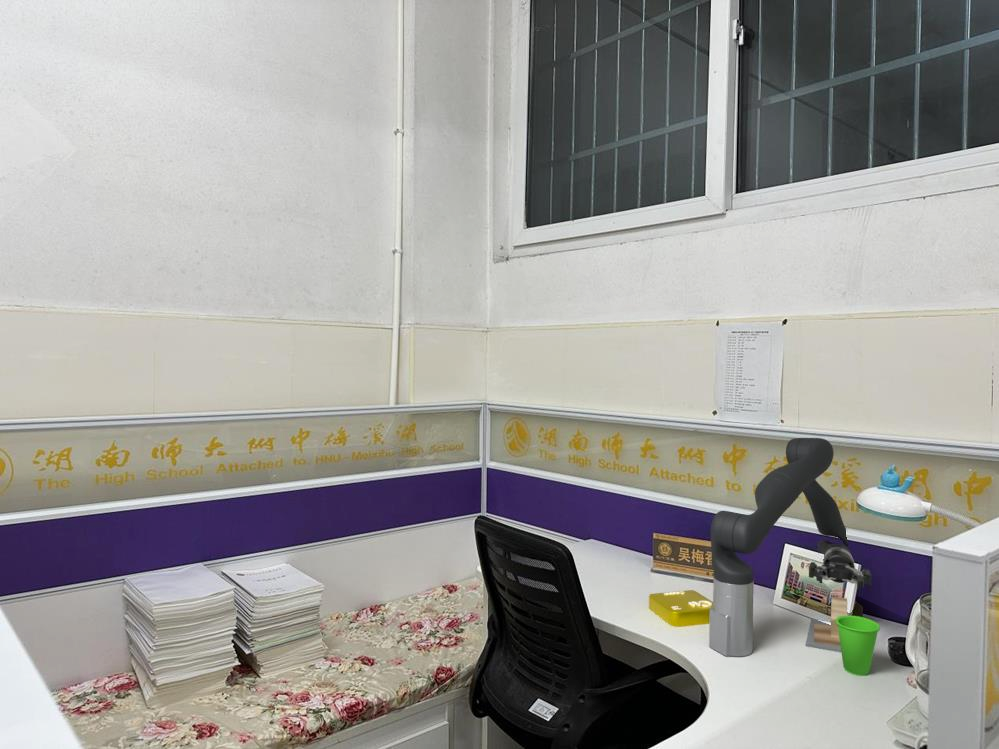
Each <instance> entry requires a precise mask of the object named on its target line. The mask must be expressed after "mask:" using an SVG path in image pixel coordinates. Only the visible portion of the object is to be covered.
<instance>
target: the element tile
mask: <svg viewBox="0 0 999 749" xmlns="http://www.w3.org/2000/svg"><path fill="white" fill-rule="evenodd" d="M711 608H713V600H711V599H709V598H707V597H706V596H705V595H703V594H701V592H700V593H699V592H698V591H696V590H694V589H689V590H688V589H687V590H678V591H668V592H666V591H665V592H655V593H650V594H649V595H648V610H649V609H650V610H651V611H650V610H649V611H650V612H652V611H653V612H654V613H655V614H654V613H653V612H652V613H653V614H654V615H656V616H657V615H658V616H659V617H660V618H659V617H658V616H657V617H658V618H659V619H661V618H662V619H661V620H662V621H663V620H664V621H665V622H664V621H663V622H664V623H666V624H667V623H668V624H669V625H668V624H667V625H668V626H670V625H671V626H670V627H673V626H674V627H673V628H680V627H690V626H691V627H693V626H699V625H709V623H710V609H711Z"/></svg>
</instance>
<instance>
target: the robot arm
mask: <svg viewBox="0 0 999 749" xmlns="http://www.w3.org/2000/svg"><path fill="white" fill-rule="evenodd" d="M834 454H835V453H834V447H833V444H831V441H829V440H827V439H825V438H821V437H796V438H791V439H789V441H788V442H787V444H786V447H785V457H786V461H787V464H784V465H782V466H780V467H777V468H775V469H773V470H771V471H770V472H768V473H767V474H766V475H765V476H764V477H763V478H762V479H761V480H760V481H759V483H758V484H757V485H756V488H755V491H754V500H755V503H756V504H755V505H756V510H755V511H754V512H753V513H751V514H745V513H739V512H735V511H729V510H720V511H718V512H717V513H715V515H714V516H713V519H712V522H711V525H710V547H711V549H710V550H711V552H710V554H711V567H712V570H713V587H712V588H713V590H712V591H713V592H712V594H713V597H712V598H713V599H712V602H713V608H711V609H710V623H709V624H708V625H709V629H708V630H709V632H708V633H709V634H708V636H709V639H708V647H709V648H711V649H713V650H714V651H716V652H717V653H720V654H721V655H723V656H725V657H747V656H750V655H751V654H753V642H754V641H753V640H754V638H753V637H754V634H753V633H754V632H753V629H754V628H753V627H754V593H755V592H754V589H755V587H754V585H755V584H754V583H755V582H754V581H755V580H754V579H755V578H754V577H755V574H754V573H755V572H754V569H753V568H752V567H751V566H750V565H749V564H747V562H744V561H743V560H742V559H741V558H740V557H739V556H738V554H737V553H739V554H743V555H750V554H753V553H754V552H756V551H757V550H758V549H760V546H761V545H762V543H763V542H764V541H765V539H766V538H767V536H768V534H769V533H770V531H771V530H772V528H773V527H774V525H775V524H776V523H777V522H778V521H779V519H780V518H781V516H782V515H783V514H784V513H785V512H786V511H787V510H788V509H789V508H791V506H792V505H793V504H794V502H795V501H796V500H797V499H798V498H799V497H800V496H801V494H802V493H803V495H804V497H805V498H806V500H807V503H808V504H809V508H810V510H811V514H812V516H813V519H814V523H815V525H816V528H817V531H818V533H820V534H821V535H822V536H825V537H826V536H827V537H838V538H840V539H841V540H842V541H843V543H844V544H845V545H846V546H847V547H848V546H849V543H848V541H847V537H846V529H847V528H846V526H845V524H844V521H843V517H842V515H841V513H840V509H839V508H840V507H839V506H838V504H837V502H836V501H835V499H834V497H833V496H832V495H831V494H830V493H829V492H828V491H827V490H826V489H825V488H824V487H823V486H822V485H821V484H820V483H819V482H818V481H817V479H818V478H819V477H820V476H821V475H822V474H824V473H825V472H826V471H827V470H828V469H829V468H830V466H831V465H832V462H833V461H834V460H833V459H834ZM820 540H821V541H820ZM820 540H819V541H818V542H819V543H817V546H818V548H817V552H818V551H819V552H821V553H823V554H824V559H823V560H822V561H823V562H822V565H821V566H820V565H818V564H817V563H816V562H814V561H812V562H810V563H809V566H808V578H811V579H812V578H813V579H814V577H815V579H816V581H817V582H819V583H820V584H823V580H825V581H829V580H831V581H832V582H834V583H838V584H839V583H840V584H841V583H842V584H844V583H847V582H848V583H850V584H852V585H853V584H856V588H857V589H861V588H864V586H866V585H867V586H872V574H871V571H870V569H868V568H863V569H862V571H860V570H858V569H857V568H856V567H855V566H856V565H855V559H853V557H852V554H851V551H850V550H849V549H848V548H847V547H846V546H845V545H842V544H836V543H831V542H829V541H825V540H822V539H820ZM819 583H818V584H819Z"/></svg>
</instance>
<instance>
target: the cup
mask: <svg viewBox="0 0 999 749" xmlns="http://www.w3.org/2000/svg"><path fill="white" fill-rule="evenodd" d="M835 621H836V623H837V625H838V632H839V639H840V646H841V652H840V654H841V657H842V658H841V659H842V665H843V668H844V671H846V672H847V673H850V674H851V675H855V676H861V677H862V676H867V675H868V674H869V673H870V669H871V666H872V660H873V656H874V650H875V646H876V641H877V636H878V632H879V630H880V629H881V626H880V624H879V623H878V622H876V621H875V620H872V619H870V618H867V617H863V616H858V615H848V614H847V616H839V617H837V618H836V620H835Z"/></svg>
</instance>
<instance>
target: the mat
mask: <svg viewBox="0 0 999 749" xmlns="http://www.w3.org/2000/svg"><path fill="white" fill-rule="evenodd" d="M815 619H816V618H811V619H810V623H809V628H808V632H807V637H806V639H805V647H809V646H810V647H811V648H815V649H821V650H826V651H831V652H832V651H833V652H838V653H841V647H838V646H832V645H825V644H819V643H814V624H820V625H827V626H831V625H829V624H826V623H823V622H821V621H818V620H819V619H816V620H815Z"/></svg>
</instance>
